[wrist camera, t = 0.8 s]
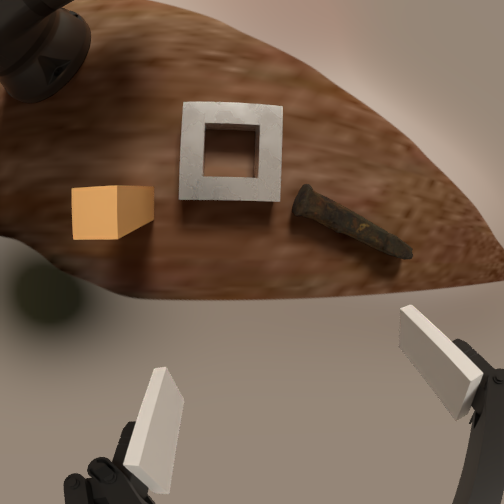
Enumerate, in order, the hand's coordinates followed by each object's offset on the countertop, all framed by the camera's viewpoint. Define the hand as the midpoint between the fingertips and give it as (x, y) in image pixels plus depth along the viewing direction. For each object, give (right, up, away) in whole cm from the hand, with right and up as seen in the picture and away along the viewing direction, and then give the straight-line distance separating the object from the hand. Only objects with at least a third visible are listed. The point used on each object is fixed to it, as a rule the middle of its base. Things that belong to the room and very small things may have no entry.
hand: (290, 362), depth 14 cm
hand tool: (+12, +10, +23) cm, 28 cm away
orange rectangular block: (-16, +12, +18) cm, 27 cm away
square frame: (-5, +17, +19) cm, 26 cm away
